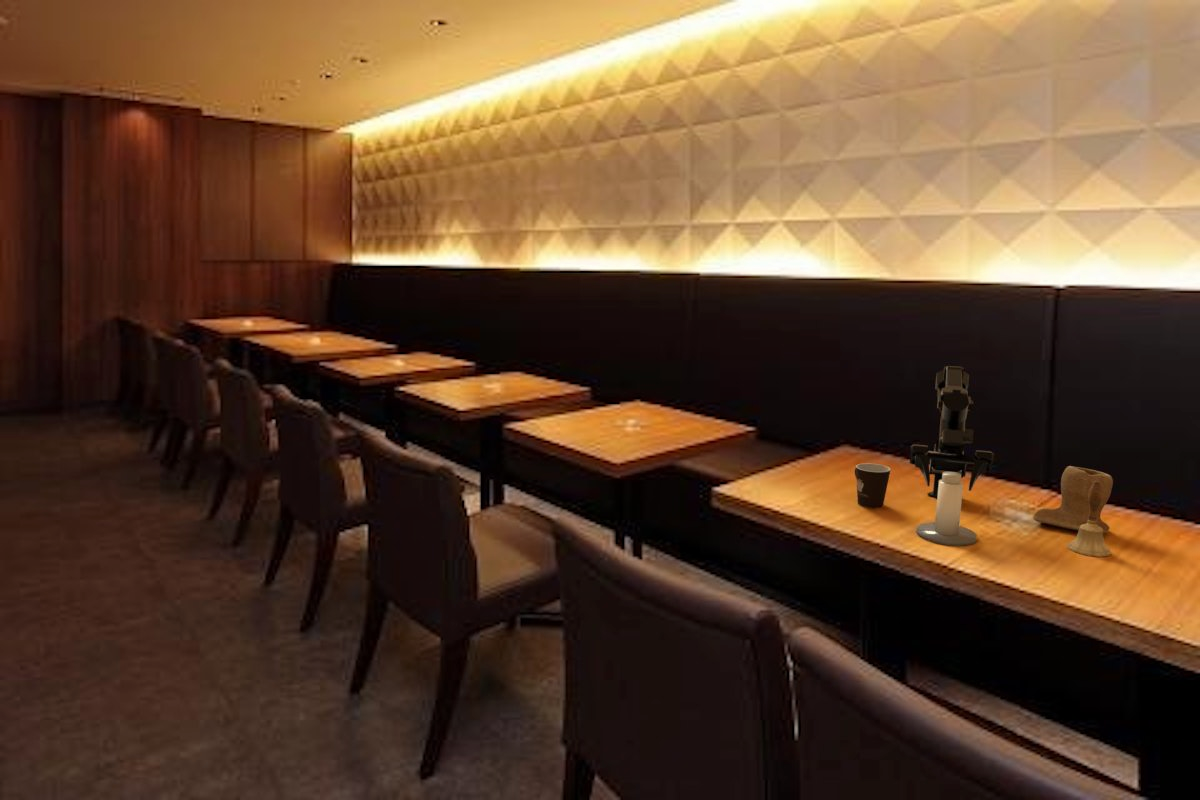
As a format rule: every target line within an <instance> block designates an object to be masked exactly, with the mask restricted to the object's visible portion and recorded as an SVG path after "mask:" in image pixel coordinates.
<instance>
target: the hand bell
mask: <svg viewBox="0 0 1200 800" xmlns="http://www.w3.org/2000/svg"><path fill="white" fill-rule="evenodd" d="M1102 494H1103V493H1102V488H1101V482H1100V481H1094V482H1093V485H1092V486H1091V488H1090V491H1089V496H1088V500H1089V506H1090V510H1089V515H1088V516H1089V517H1088V522H1087V523H1086V524H1083V525H1081V526H1080V528H1079V531H1078V532H1077V534H1076V537H1075V538H1074V539H1073V540H1072V541H1070V542H1069V543H1068V544H1067V549H1068V550H1070V551H1072V552H1074V553H1077V554H1079V555H1084V556H1090V557H1098V558H1100V557H1107V556H1108V557H1109V556H1110V555H1111V554H1112V552H1111V550H1110V549H1109V547H1107V545H1106V542H1105V539H1104V534H1103V529H1102V528H1101V527H1099V526H1098V525H1097V524H1096V522H1097V521H1096V520H1097V511H1098V507H1099V505H1100V503H1101V500H1102Z"/></svg>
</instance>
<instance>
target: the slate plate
mask: <svg viewBox="0 0 1200 800" xmlns="http://www.w3.org/2000/svg"><path fill="white" fill-rule="evenodd" d="M915 533H916V535H917V536H918V537H920V538H922V539H923V540H925V541H928V542H932V543H935V544H937V545H939V544H940V545H946V546H952V547H953V546H955V547H957V546H958V547H959V546H960V547H962V546H965V547H966V546H970V545H973V544H975V543H976V542H977V538H978V535H977V533H976V532H975V531H974V530H971V529H969V527H965V526H963V525H959V534H958V535H943V534H939V533H937V532H935V521H933V522H931V521H930V522H924V523H920V524H918V525H917V526H916V530H915Z"/></svg>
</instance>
